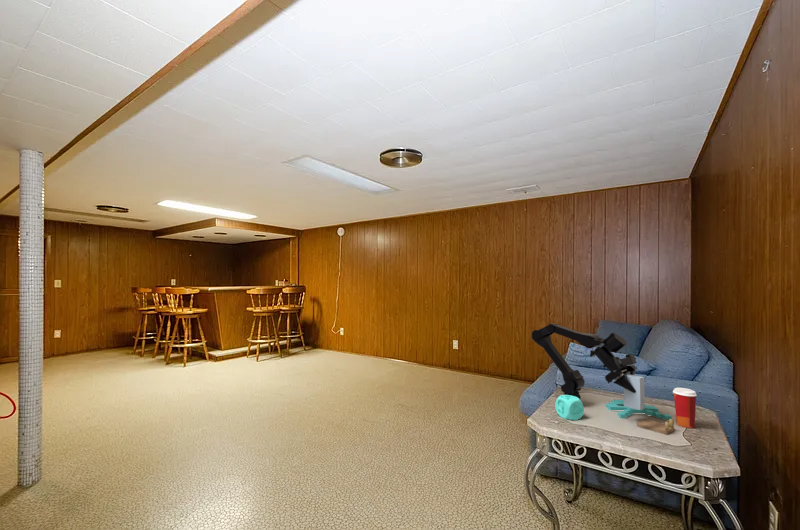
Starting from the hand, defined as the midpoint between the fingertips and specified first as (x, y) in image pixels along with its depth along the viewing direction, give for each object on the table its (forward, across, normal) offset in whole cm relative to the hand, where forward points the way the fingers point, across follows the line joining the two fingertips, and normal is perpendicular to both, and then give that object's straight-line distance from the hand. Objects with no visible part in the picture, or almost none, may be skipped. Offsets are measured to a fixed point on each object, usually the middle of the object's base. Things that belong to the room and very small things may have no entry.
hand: (637, 391), depth 146 cm
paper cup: (+18, +13, +1) cm, 22 cm away
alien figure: (+4, +14, +14) cm, 21 cm away
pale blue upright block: (+4, 0, +6) cm, 7 cm away
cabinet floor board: (+13, 0, +5) cm, 14 cm away
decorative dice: (-5, -16, +24) cm, 29 cm away
